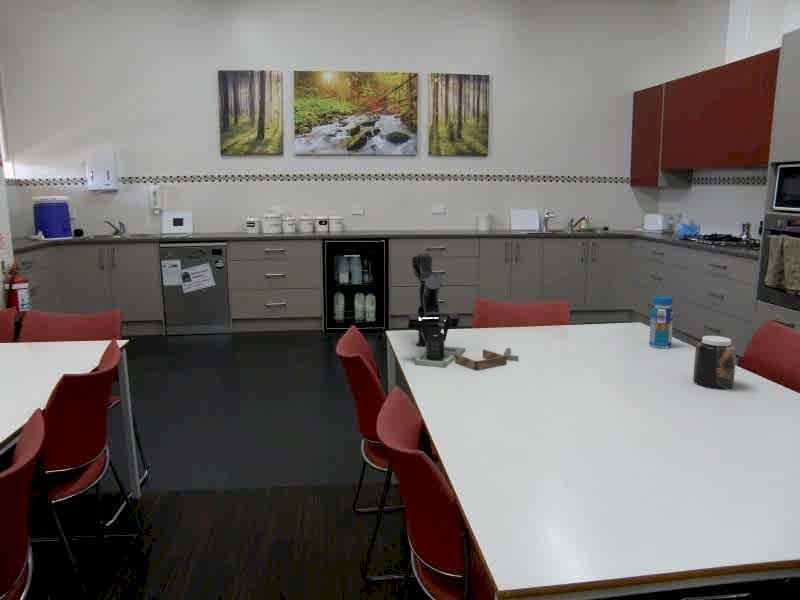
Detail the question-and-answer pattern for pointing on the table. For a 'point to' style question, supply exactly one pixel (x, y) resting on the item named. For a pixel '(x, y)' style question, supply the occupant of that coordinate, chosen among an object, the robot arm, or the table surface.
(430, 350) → the supplement bottle
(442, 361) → the tray
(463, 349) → the hole plate
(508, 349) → the crook tool
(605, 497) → the table surface
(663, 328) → the beverage bottle
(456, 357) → the u-shaped bracket
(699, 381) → the jar
